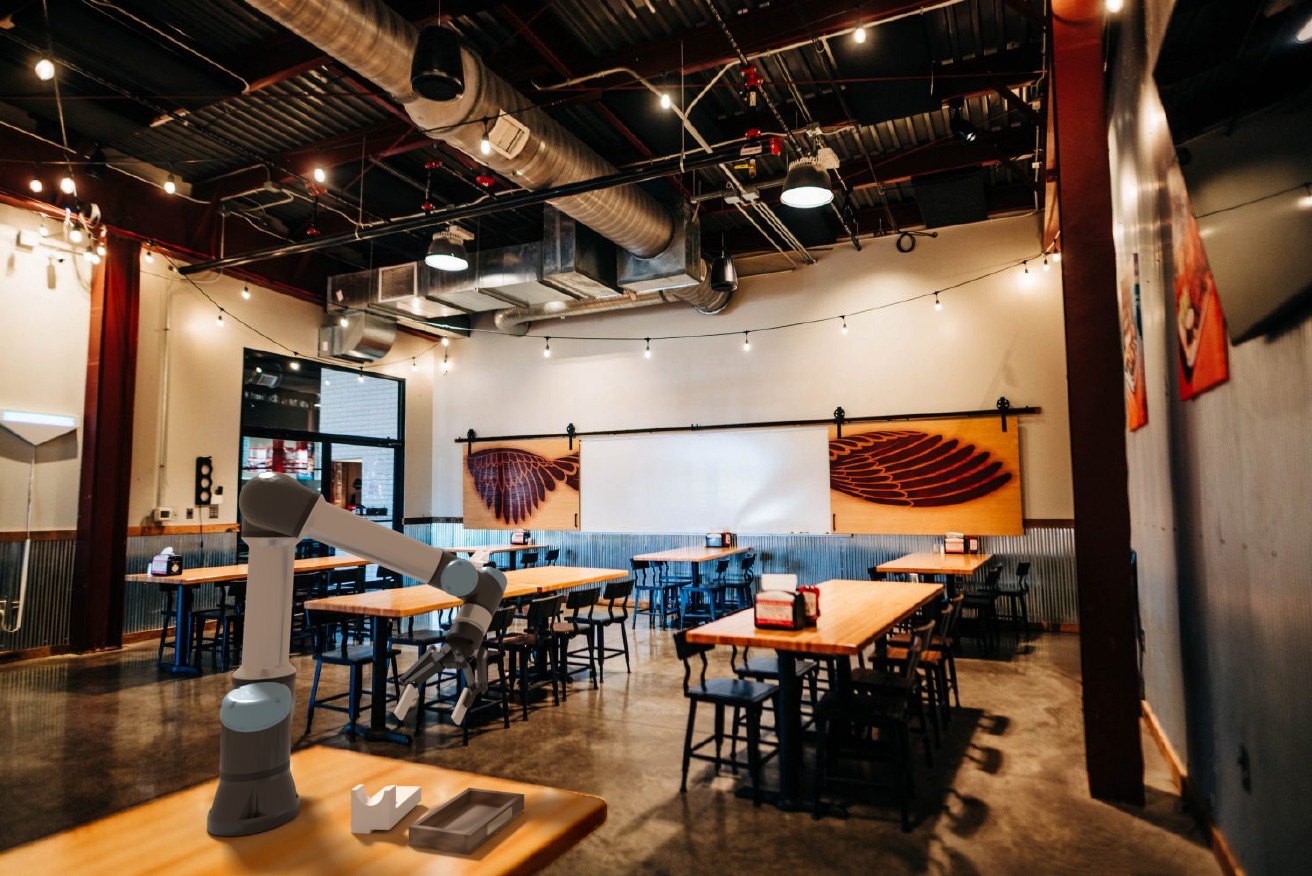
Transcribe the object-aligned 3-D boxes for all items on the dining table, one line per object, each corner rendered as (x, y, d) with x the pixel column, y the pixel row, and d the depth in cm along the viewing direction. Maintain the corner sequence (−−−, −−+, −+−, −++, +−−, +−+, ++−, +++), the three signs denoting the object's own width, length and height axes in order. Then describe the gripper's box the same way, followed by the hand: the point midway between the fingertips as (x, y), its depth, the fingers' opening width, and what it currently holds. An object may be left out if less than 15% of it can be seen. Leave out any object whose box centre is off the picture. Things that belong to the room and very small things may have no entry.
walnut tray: (408, 845, 125) (408, 826, 125) (468, 804, 142) (468, 787, 142) (471, 854, 121) (471, 835, 121) (525, 811, 138) (525, 794, 138)
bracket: (388, 835, 130) (389, 790, 130) (350, 834, 130) (351, 790, 131) (421, 805, 142) (421, 765, 143) (386, 805, 143) (386, 764, 144)
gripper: (524, 642, 162) (487, 733, 146) (428, 638, 170) (383, 724, 155) (512, 621, 157) (472, 713, 142) (413, 618, 166) (366, 704, 150)
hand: (426, 719), depth 148 cm, fingers open, 13 cm apart
